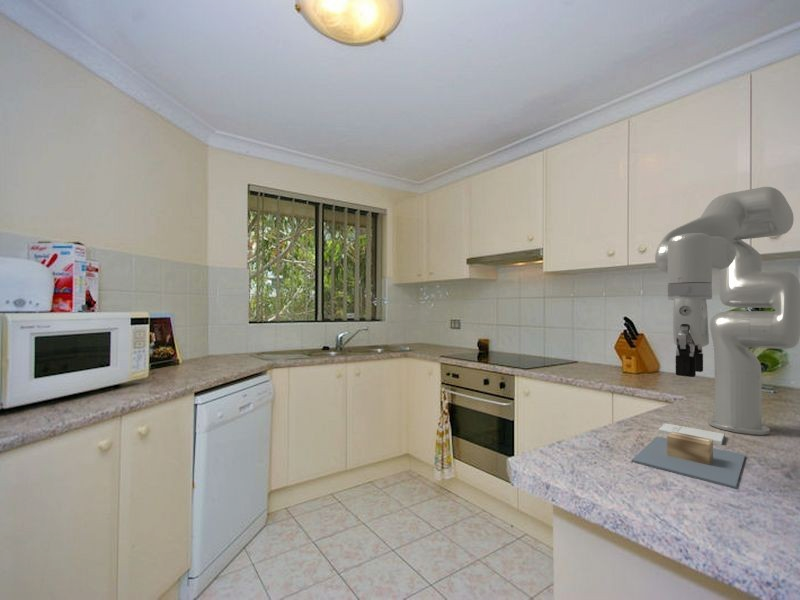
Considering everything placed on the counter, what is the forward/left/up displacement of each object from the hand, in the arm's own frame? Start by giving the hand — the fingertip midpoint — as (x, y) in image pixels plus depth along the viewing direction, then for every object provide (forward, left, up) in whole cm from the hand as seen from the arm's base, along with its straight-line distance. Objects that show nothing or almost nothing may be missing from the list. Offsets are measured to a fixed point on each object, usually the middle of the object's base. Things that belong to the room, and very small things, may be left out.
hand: (689, 373), depth 80 cm
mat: (0, 0, -18) cm, 18 cm away
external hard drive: (-21, -3, -19) cm, 28 cm away
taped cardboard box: (0, 0, -18) cm, 18 cm away
